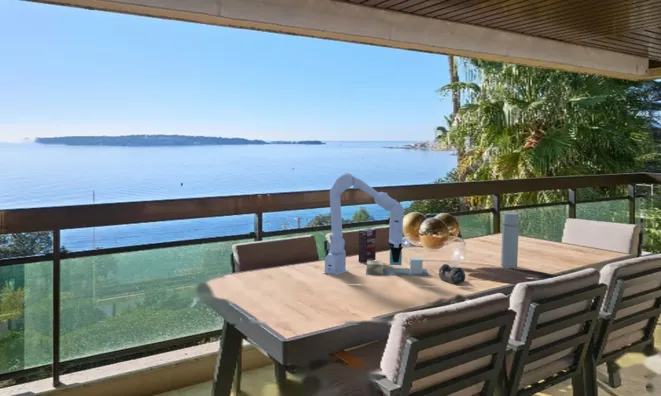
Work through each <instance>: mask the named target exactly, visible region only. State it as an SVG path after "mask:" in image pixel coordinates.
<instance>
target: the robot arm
mask: <svg viewBox="0 0 661 396" xmlns="http://www.w3.org/2000/svg"><path fill="white" fill-rule="evenodd" d="M351 187H352V189H359V190H360V191H362V192H364V193H365V194H366V195H369V197H371V198H374V203H375V204H377V205H378V206H379V207H381V208H383V209H384V210H385V211H387V212H389V213H390V215H389V217H390V219H389V234H388V235H389V236H388V237H389V238H388V242H389V250H390V249H391V252H392V257H393V262H398V261H399V256H400V252H401V251H402V250H403V248H404V247H403V243H406V239H403V238H404V237H403V236H404V234H403V233H404V232H403V231H404V229H403V228H404V220H403V217H404V216H403V215H404V211H405V210H404V207H403V205H402V204H401V203H400V202H399V201H397V199H395V198H394V199H393V198H392V197H390V196H389V194H388V192H384V191H379V192H378V191H377V190H375V189H374V188H373V187H372V186H371V185H369V184H367V182H365V181H364V180H362V179H361V178H359V177H357V176H355V175H352V174H351V173H349V172H344V173H342V174H341V175H340V176H339V177H338V178H336V180H335V182H334V183H333V185H332V187H331V188H330V190H329V206H330V223H331V224H330V226H331V234H330V235H331V238H330V239H331V240H330V243H329V253H328V254H327V255H326V256H325V257H324V271H323V272H325V273H324V274H328V273H329V274H333V275H340V274H341V275H342V274H343V273H346V272H349V271H350V269H346V267H347V266H346V259H347V258H346V257H347V255H346V253H347V252H346V250H345V245H346V240H345V238H344V236H343V222H342V207H341V205H342V204H341V195H342V194H343V193H344V192H345V191H346V190H348V189H350V188H351Z"/></svg>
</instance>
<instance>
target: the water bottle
mask: <svg viewBox="0 0 661 396" xmlns="http://www.w3.org/2000/svg"><path fill="white" fill-rule="evenodd" d="M519 215H520V213H518V212H504V213H503V215H502V216H503V218H502V222H501V225H502V229H501V255H500V258H501V260H500V265H501V266H502V267H503V268H504V269H505V268H506V269H516V268H517V267H518V258H519V257H518V255H519V253H518V251H519V234H520V233H519V231H520V228H519V225H520V216H519Z"/></svg>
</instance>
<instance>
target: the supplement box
mask: <svg viewBox="0 0 661 396" xmlns="http://www.w3.org/2000/svg"><path fill="white" fill-rule="evenodd" d="M376 242H377V229H375V228H368V227H367V228H365V229H359V231H358V263H361V262H362V263H363V264H367V261H374V260H376V259H377V257H376V255H377V253H376V249H377V245H376V244H377V243H376ZM376 261H377V260H376Z"/></svg>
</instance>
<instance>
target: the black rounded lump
mask: <svg viewBox="0 0 661 396" xmlns="http://www.w3.org/2000/svg"><path fill="white" fill-rule="evenodd" d="M438 276H439V279H441V280H442V281H445V282H446V283H448V284H453V285H457V284H459V283H464V282H465V281H466V273H465V271H464V270H463V268H462V267H457V266H454V267H452V266H450V264H447V263H444V264H442V265H441V266H440V267H439V270H438Z"/></svg>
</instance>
